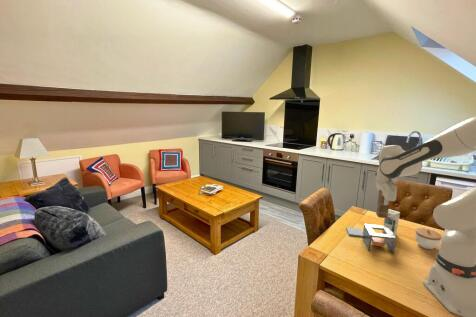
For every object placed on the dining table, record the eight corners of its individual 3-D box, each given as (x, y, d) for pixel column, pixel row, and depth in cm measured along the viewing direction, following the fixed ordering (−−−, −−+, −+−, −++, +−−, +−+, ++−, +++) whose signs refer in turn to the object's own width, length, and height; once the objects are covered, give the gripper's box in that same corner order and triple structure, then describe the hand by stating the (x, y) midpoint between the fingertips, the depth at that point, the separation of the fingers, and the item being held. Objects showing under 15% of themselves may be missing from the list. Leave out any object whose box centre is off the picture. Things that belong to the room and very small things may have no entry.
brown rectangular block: (387, 218, 121) (390, 192, 118) (378, 217, 122) (381, 191, 119) (384, 214, 125) (388, 189, 122) (376, 214, 126) (379, 189, 123)
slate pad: (363, 237, 136) (364, 235, 135) (348, 235, 138) (348, 233, 137) (360, 230, 143) (360, 228, 143) (346, 228, 145) (346, 227, 145)
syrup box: (381, 233, 139) (385, 211, 136) (386, 230, 142) (389, 208, 139) (392, 238, 135) (396, 214, 131) (396, 234, 138) (400, 211, 135)
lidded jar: (429, 240, 132) (432, 225, 130) (444, 252, 121) (447, 236, 119) (409, 239, 133) (411, 224, 131) (421, 251, 123) (424, 235, 120)
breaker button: (384, 246, 125) (384, 243, 124) (373, 245, 126) (374, 241, 125) (381, 241, 129) (381, 238, 129) (371, 240, 130) (371, 236, 130)
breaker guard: (393, 253, 121) (396, 238, 119) (367, 250, 124) (369, 234, 122) (386, 240, 132) (388, 226, 130) (362, 238, 135) (364, 223, 133)
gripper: (402, 183, 108) (398, 211, 111) (387, 171, 128) (384, 195, 131) (386, 182, 110) (383, 210, 113) (374, 171, 129) (371, 194, 132)
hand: (383, 202), depth 122 cm, fingers closed on brown rectangular block, 4 cm apart
